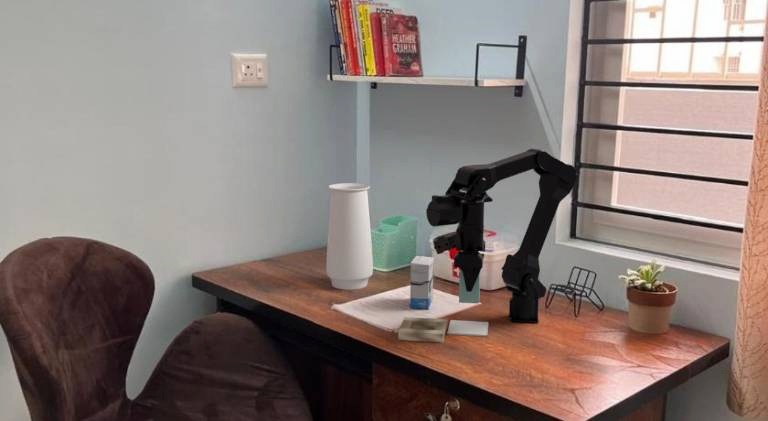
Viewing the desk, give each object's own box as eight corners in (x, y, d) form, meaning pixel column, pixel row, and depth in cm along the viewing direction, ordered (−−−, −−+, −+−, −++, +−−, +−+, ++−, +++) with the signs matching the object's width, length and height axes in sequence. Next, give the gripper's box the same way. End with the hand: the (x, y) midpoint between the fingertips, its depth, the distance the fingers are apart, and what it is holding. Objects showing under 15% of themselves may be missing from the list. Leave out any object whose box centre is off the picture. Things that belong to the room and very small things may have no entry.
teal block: (479, 297, 176) (480, 264, 175) (478, 303, 172) (479, 269, 170) (460, 296, 177) (460, 263, 175) (458, 302, 172) (459, 268, 171)
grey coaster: (488, 323, 179) (488, 322, 179) (487, 336, 170) (487, 335, 170) (450, 321, 181) (450, 320, 180) (447, 334, 172) (447, 332, 172)
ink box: (428, 309, 189) (429, 264, 187) (409, 308, 190) (409, 263, 188) (433, 300, 198) (434, 256, 196) (414, 298, 199) (415, 255, 197)
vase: (368, 292, 204) (368, 190, 199) (321, 290, 206) (320, 189, 201) (376, 279, 217) (376, 183, 211) (332, 277, 219) (331, 182, 213)
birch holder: (446, 327, 176) (447, 319, 176) (442, 342, 167) (443, 333, 166) (404, 325, 178) (404, 317, 178) (398, 339, 168) (398, 331, 168)
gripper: (439, 213, 181) (438, 276, 184) (431, 229, 163) (430, 298, 166) (486, 214, 179) (484, 278, 182) (483, 231, 161) (481, 301, 164)
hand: (469, 288), depth 174 cm, fingers closed on teal block, 4 cm apart
